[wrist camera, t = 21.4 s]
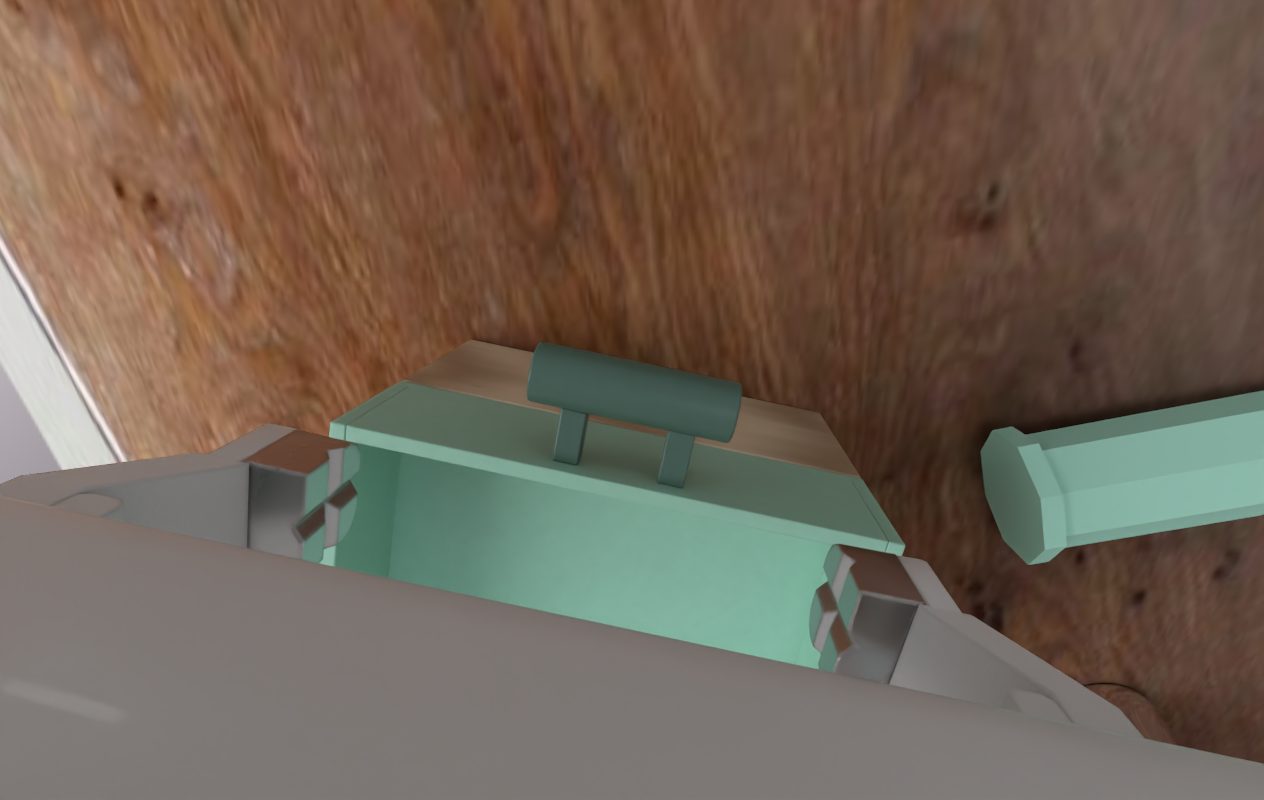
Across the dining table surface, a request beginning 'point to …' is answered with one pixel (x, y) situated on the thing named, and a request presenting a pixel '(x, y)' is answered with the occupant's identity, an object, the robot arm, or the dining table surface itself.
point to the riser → (755, 434)
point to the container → (1126, 475)
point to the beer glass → (1137, 711)
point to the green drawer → (602, 505)
